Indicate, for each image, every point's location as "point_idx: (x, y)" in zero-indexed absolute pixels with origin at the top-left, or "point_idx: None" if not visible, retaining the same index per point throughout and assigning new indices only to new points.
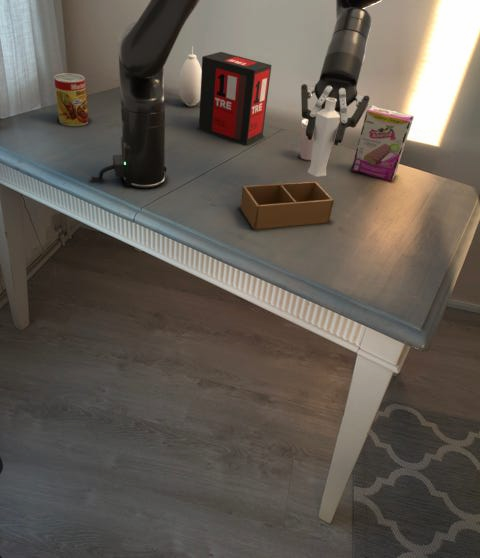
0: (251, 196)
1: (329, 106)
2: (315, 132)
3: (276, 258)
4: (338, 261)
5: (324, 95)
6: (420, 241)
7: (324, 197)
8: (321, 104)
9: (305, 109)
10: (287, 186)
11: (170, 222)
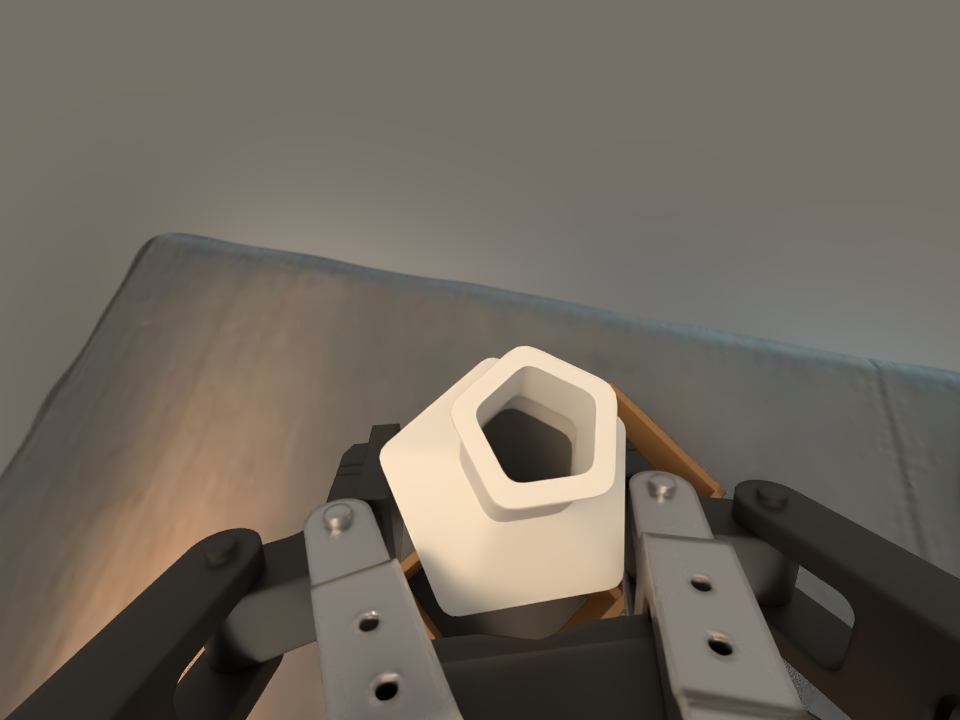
0: (659, 433)
1: (519, 390)
2: (555, 463)
3: (486, 320)
4: (337, 375)
5: (730, 667)
6: (39, 636)
7: (427, 623)
8: (655, 545)
9: (762, 490)
10: (595, 619)
11: (774, 343)
